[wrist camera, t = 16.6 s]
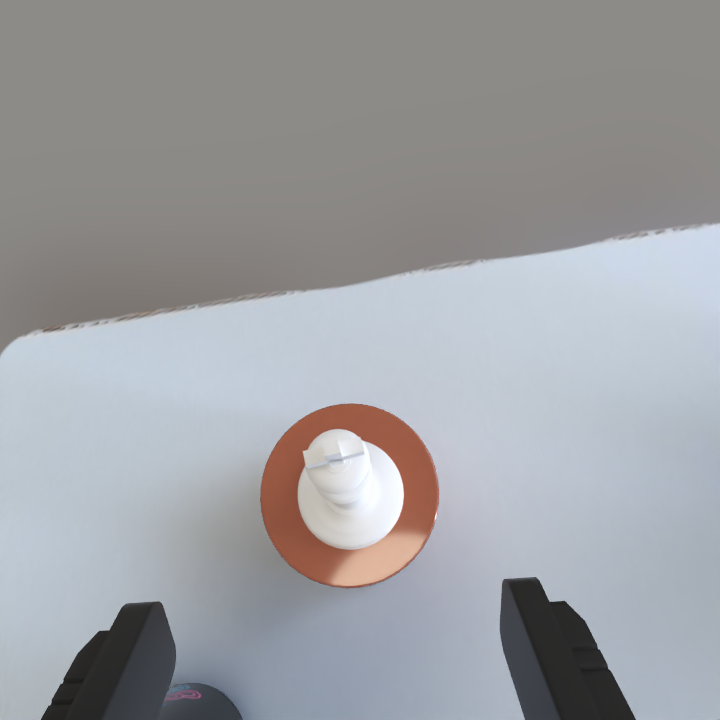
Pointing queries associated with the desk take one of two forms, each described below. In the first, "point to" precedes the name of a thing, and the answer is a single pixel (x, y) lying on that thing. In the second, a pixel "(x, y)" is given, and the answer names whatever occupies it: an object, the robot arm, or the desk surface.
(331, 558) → the upturned cup
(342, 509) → the chess piece
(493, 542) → the desk surface
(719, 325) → the desk surface
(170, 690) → the supplement container
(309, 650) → the desk surface
